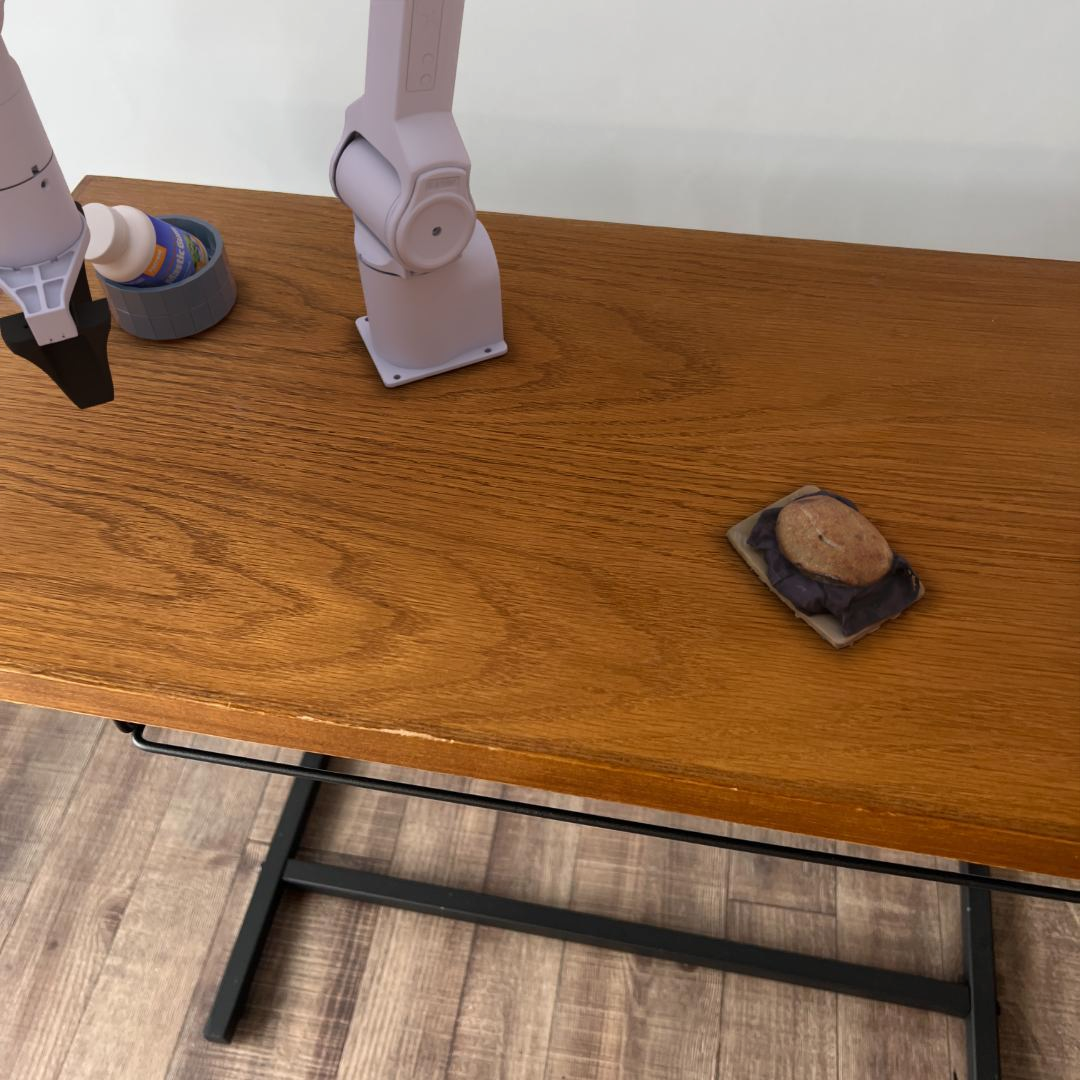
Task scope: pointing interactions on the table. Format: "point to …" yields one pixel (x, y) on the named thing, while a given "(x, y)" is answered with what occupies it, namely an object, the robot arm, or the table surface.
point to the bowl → (177, 292)
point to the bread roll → (827, 564)
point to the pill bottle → (140, 247)
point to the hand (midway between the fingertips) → (87, 361)
